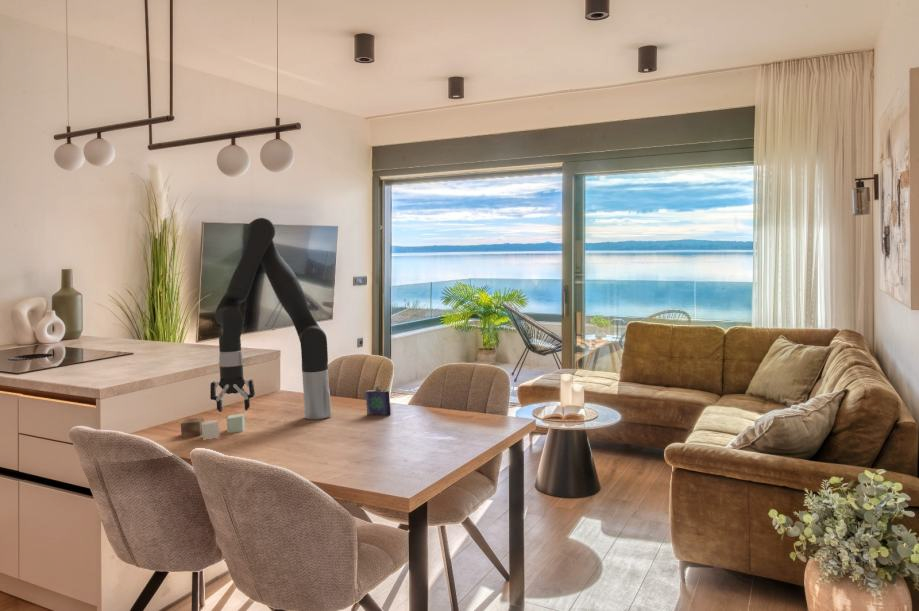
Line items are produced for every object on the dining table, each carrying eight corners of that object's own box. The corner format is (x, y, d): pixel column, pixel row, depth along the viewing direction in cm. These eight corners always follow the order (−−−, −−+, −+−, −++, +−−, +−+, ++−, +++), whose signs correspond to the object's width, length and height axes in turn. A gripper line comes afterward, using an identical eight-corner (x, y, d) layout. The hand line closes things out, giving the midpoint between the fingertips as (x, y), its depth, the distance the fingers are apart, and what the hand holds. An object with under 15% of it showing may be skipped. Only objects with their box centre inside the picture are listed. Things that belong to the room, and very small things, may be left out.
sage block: (245, 428, 230) (244, 413, 229) (242, 431, 225) (241, 417, 224) (230, 429, 229) (229, 415, 229) (227, 433, 224) (226, 418, 224)
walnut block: (204, 432, 227) (203, 417, 227) (200, 436, 221) (199, 421, 221) (186, 433, 226) (185, 419, 226) (181, 438, 220) (180, 423, 220)
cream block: (218, 434, 222) (217, 420, 222) (219, 438, 218) (218, 423, 217) (202, 437, 220) (201, 422, 220) (203, 440, 216) (202, 425, 215)
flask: (365, 415, 239) (364, 386, 239) (369, 413, 242) (367, 384, 241) (389, 416, 236) (387, 386, 236) (392, 414, 239) (390, 385, 238)
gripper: (254, 361, 230) (256, 407, 231) (212, 363, 228) (214, 409, 229) (250, 364, 223) (253, 411, 224) (206, 366, 221) (209, 414, 222)
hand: (233, 410), depth 227 cm, fingers open, 8 cm apart
